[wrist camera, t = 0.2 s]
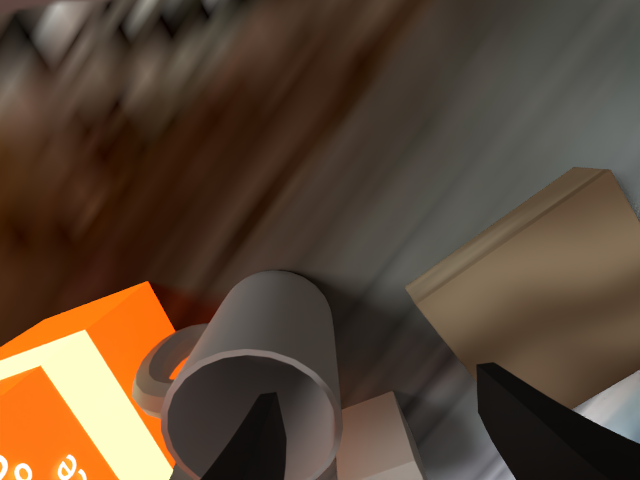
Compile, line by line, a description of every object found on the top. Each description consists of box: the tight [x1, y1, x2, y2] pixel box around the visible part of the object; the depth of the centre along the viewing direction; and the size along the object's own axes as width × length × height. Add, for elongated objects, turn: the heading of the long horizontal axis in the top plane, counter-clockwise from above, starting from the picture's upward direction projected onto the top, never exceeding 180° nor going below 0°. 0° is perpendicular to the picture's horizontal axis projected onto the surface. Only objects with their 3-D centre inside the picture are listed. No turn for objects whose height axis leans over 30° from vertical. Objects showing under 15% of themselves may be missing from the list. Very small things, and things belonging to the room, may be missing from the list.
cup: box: [132, 270, 343, 480], centre depth 18 cm, size 7×10×9 cm
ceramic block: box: [336, 391, 428, 480], centre depth 22 cm, size 4×4×6 cm
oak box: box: [405, 167, 640, 409], centre depth 21 cm, size 12×12×3 cm
